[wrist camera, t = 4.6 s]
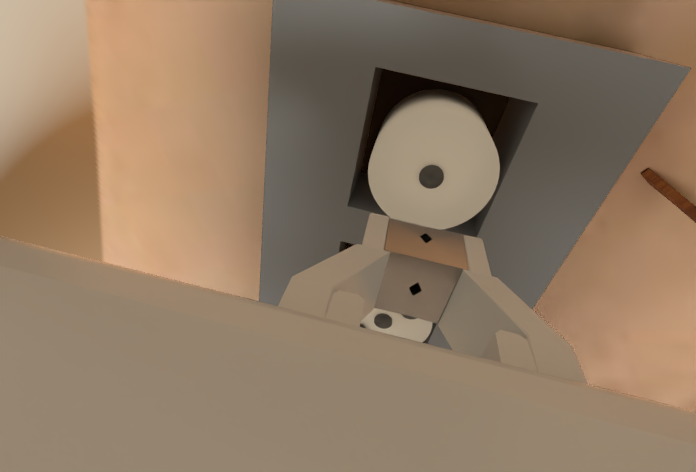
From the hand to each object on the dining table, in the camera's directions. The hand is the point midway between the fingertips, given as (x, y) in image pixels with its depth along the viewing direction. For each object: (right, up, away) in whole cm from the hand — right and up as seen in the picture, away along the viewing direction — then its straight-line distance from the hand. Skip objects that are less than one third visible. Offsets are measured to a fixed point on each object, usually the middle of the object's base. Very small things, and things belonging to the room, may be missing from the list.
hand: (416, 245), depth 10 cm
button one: (+2, +4, +7) cm, 8 cm away
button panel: (+1, -1, +13) cm, 13 cm away
